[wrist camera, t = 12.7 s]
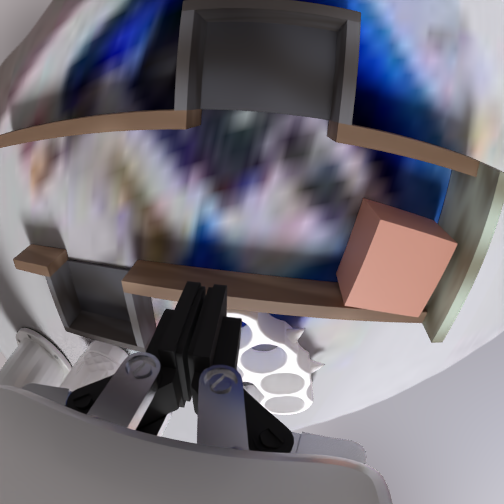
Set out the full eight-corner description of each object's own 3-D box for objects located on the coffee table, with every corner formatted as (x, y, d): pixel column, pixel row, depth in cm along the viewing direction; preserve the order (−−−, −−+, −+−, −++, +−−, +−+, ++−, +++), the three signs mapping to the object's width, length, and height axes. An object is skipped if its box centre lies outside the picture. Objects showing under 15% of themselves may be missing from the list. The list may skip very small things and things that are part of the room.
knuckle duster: (151, 315, 29) (278, 268, 25) (235, 404, 36) (338, 380, 32) (140, 337, 26) (277, 291, 22) (232, 424, 33) (341, 402, 29)
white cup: (79, 329, 32) (43, 385, 23) (130, 341, 31) (97, 407, 23) (97, 367, 36) (70, 420, 27) (144, 380, 35) (120, 439, 26)
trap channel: (393, 352, 28) (406, 394, 23) (51, 304, 30) (26, 333, 25) (476, 71, 14) (522, 72, 9) (14, 62, 16) (-29, 67, 11)
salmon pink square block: (402, 286, 24) (418, 317, 20) (335, 272, 24) (344, 305, 20) (432, 219, 21) (457, 243, 17) (362, 197, 21) (380, 219, 17)
